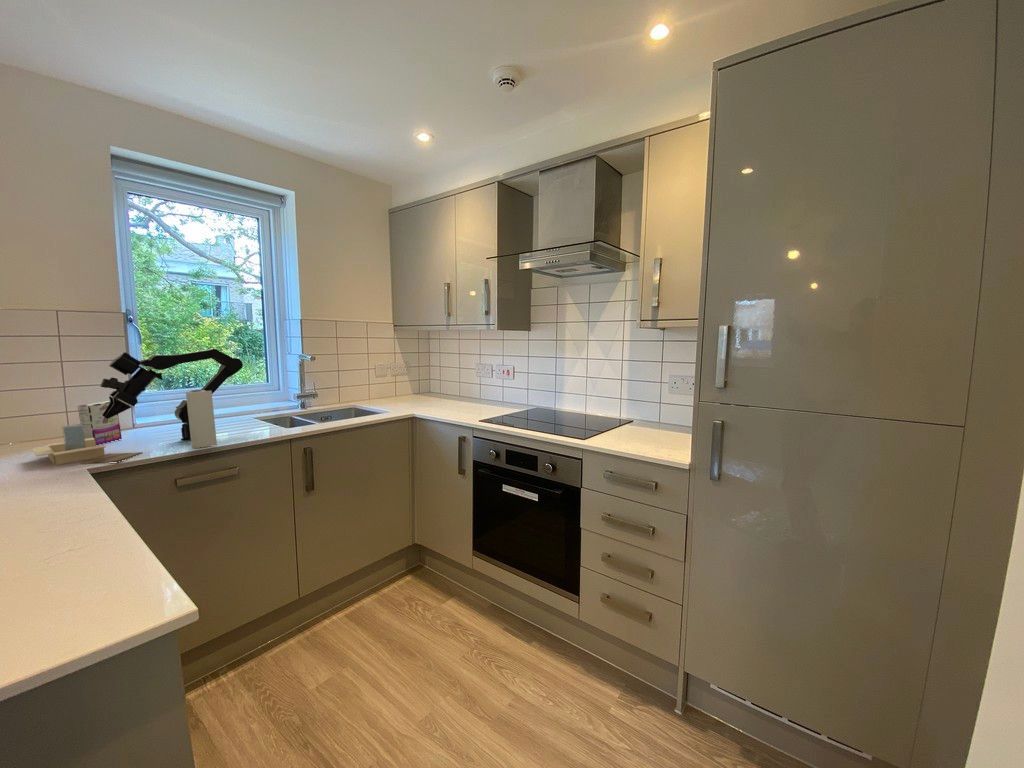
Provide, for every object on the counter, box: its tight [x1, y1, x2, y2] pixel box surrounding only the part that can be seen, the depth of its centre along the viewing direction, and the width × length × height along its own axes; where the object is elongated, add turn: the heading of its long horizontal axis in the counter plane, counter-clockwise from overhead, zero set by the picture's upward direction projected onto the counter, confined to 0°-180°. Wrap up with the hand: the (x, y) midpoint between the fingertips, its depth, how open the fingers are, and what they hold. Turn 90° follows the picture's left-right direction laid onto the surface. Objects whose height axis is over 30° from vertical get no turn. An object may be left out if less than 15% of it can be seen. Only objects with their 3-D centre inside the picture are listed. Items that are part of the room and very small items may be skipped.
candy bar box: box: [77, 400, 123, 446], centre depth 166 cm, size 11×5×16 cm, turn 179°
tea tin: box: [61, 423, 86, 451], centre depth 145 cm, size 5×5×11 cm
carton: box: [31, 438, 106, 466], centre depth 147 cm, size 22×23×4 cm
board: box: [80, 451, 143, 465], centre depth 143 cm, size 11×11×1 cm
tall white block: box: [185, 389, 218, 449], centre depth 157 cm, size 7×6×21 cm
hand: (104, 417), depth 152 cm, fingers open, 9 cm apart
